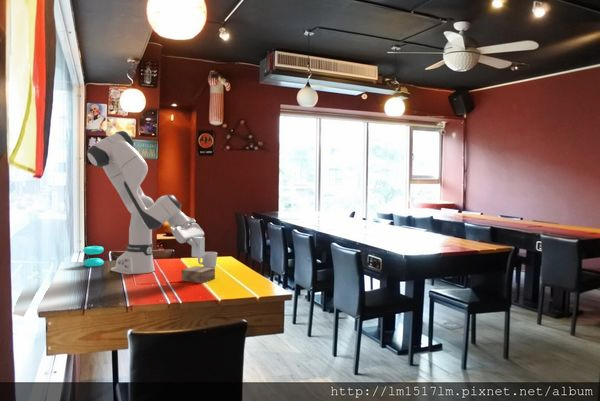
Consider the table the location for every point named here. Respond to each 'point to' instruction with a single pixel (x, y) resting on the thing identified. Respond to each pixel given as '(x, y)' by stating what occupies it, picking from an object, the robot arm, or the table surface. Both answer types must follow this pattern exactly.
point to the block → (198, 247)
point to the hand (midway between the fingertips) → (199, 246)
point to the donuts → (93, 261)
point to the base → (198, 274)
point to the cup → (209, 259)
